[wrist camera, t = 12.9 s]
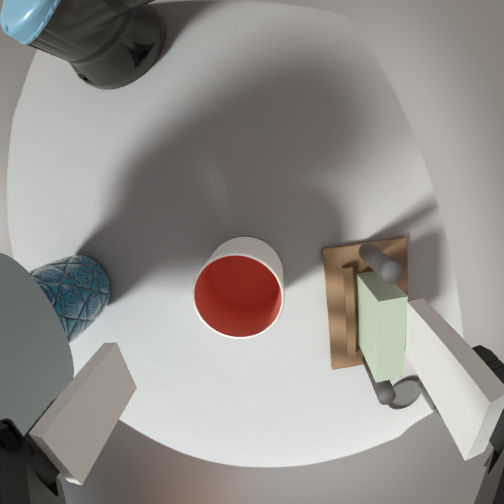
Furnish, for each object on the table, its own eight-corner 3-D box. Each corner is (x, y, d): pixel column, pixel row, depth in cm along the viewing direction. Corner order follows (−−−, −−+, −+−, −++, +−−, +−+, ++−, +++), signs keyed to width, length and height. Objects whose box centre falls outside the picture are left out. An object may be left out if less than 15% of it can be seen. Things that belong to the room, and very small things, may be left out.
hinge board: (321, 247, 41) (337, 271, 30) (403, 235, 39) (440, 254, 29) (331, 367, 45) (342, 413, 34) (402, 353, 44) (427, 393, 33)
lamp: (160, 321, 45) (13, 526, 9) (77, 344, 48) (-54, 477, 11) (109, 204, 41) (-141, 281, 5) (33, 248, 44) (-140, 327, 8)
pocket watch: (379, 404, 46) (393, 442, 37) (401, 367, 44) (422, 403, 35) (413, 408, 46) (430, 443, 37) (436, 373, 44) (459, 406, 35)
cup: (275, 228, 41) (275, 244, 31) (288, 298, 43) (291, 332, 33) (202, 242, 42) (181, 261, 32) (219, 309, 44) (204, 343, 34)
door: (356, 273, 40) (378, 301, 30) (386, 269, 40) (415, 294, 30) (358, 343, 43) (375, 382, 33) (386, 338, 42) (408, 375, 32)
